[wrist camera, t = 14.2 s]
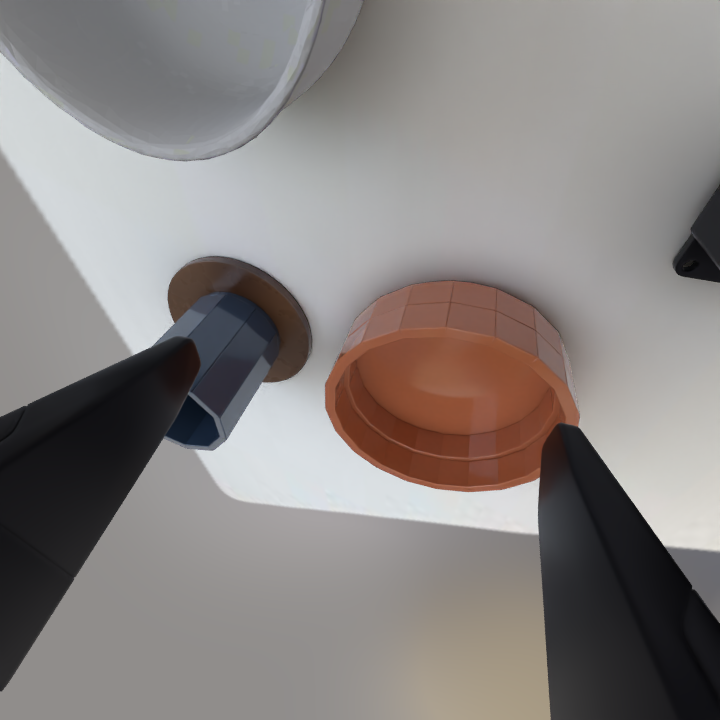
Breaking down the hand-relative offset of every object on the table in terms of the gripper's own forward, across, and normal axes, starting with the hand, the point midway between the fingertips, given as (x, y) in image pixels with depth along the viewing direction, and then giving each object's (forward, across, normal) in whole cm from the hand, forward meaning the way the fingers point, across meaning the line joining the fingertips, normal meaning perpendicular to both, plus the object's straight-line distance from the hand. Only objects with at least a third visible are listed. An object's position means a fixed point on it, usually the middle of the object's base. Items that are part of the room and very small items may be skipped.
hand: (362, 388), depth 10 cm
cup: (+11, +11, +10) cm, 19 cm away
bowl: (+12, -3, +10) cm, 16 cm away
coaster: (+12, +11, +10) cm, 19 cm away
